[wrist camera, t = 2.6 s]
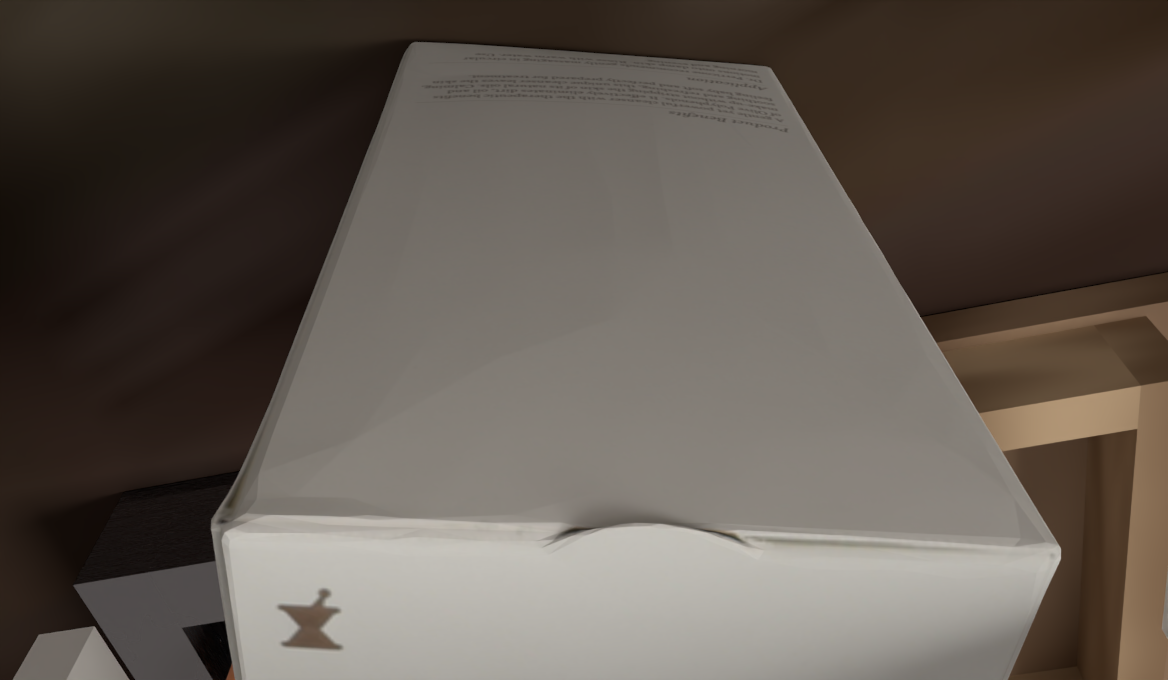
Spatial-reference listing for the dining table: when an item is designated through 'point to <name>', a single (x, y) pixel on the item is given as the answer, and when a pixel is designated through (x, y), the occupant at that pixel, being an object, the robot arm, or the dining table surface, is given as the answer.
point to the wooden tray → (1082, 461)
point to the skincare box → (616, 408)
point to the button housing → (162, 582)
